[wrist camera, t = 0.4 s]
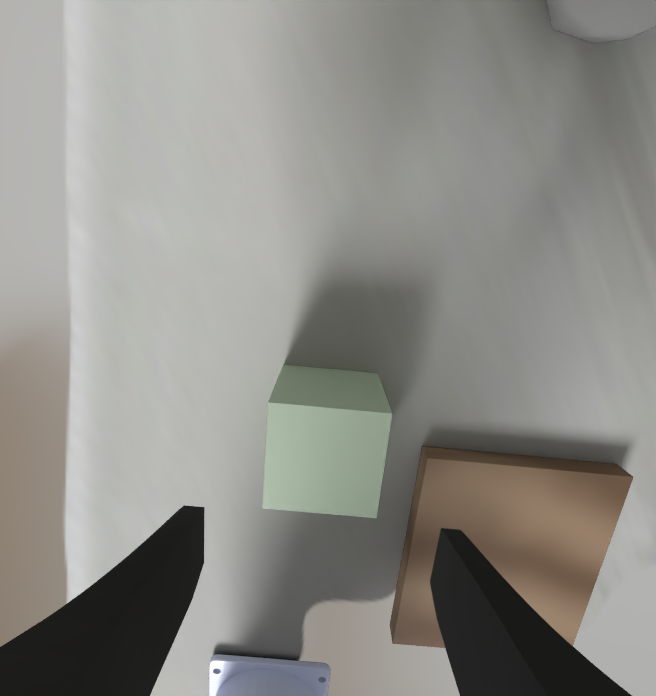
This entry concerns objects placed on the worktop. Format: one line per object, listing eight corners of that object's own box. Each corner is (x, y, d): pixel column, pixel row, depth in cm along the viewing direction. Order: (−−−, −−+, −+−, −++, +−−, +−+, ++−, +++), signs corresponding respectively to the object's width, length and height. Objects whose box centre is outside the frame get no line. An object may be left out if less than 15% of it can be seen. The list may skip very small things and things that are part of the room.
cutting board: (557, 638, 24) (568, 658, 23) (389, 624, 24) (392, 643, 23) (616, 464, 21) (633, 476, 20) (422, 446, 21) (427, 458, 20)
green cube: (366, 456, 21) (376, 518, 16) (278, 448, 21) (262, 508, 16) (377, 372, 20) (392, 413, 15) (283, 364, 20) (268, 402, 15)
